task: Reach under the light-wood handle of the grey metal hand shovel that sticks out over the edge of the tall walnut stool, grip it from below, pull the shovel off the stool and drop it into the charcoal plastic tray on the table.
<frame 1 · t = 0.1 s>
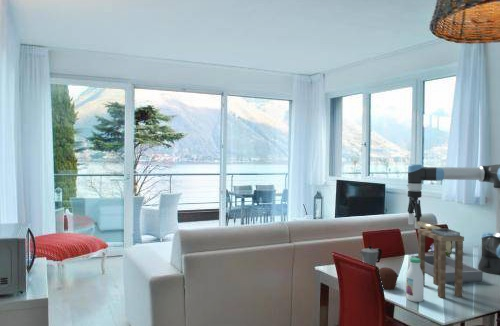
hand: (414, 226, 228), 28 cm above the table, tool pointing down, fingers open, 13 cm apart
hand shovel: (438, 232, 201), point 30 cm above the table, touching stool
stool: (438, 290, 200), on the table
passion flower: (438, 256, 269), on the table
coffeepot: (371, 276, 224), on the table
tray: (444, 273, 229), on the table
milk bottle: (414, 299, 188), on the table
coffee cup: (445, 251, 281), on the table
muffin: (386, 287, 205), on the table
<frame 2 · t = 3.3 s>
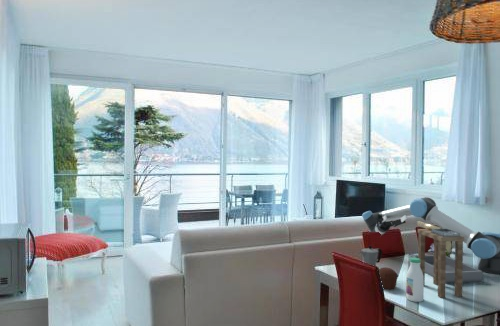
hand: (396, 217, 249), 30 cm above the table, tool pointing upward, fingers open, 13 cm apart
nothing on the table moved.
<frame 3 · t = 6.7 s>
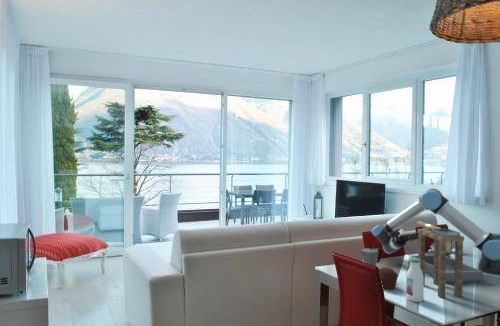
hand: (414, 230, 224), 26 cm above the table, tool pointing upward, fingers open, 13 cm apart
nothing on the table moved.
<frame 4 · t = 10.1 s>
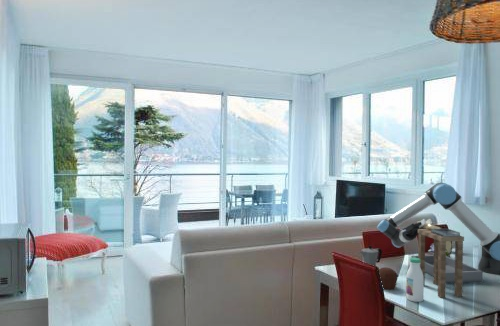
hand: (427, 221, 210), 34 cm above the table, tool pointing upward, fingers closed on hand shovel, 3 cm apart
hand shovel: (438, 232, 201), point 30 cm above the table, touching gripper, stool
everything else where it was.
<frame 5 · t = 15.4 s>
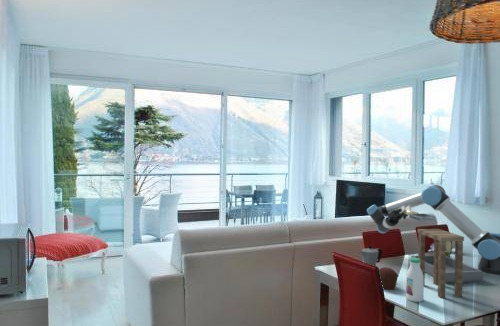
hand: (407, 207, 232), 39 cm above the table, tool pointing upward, fingers closed on hand shovel, 3 cm apart
hand shovel: (415, 217, 222), point 35 cm above the table, touching gripper
everything else where it was.
when the fingers open (26 cm above the table, at t = 21.0 s): hand shovel drops 20 cm, resting on tray.
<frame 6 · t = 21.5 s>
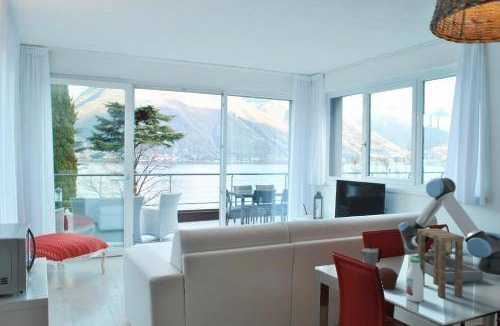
hand: (437, 229, 236), 25 cm above the table, tool pointing upward, fingers open, 10 cm apart
hand shovel: (447, 272, 227), point 1 cm above the table, touching tray
everything else where it was.
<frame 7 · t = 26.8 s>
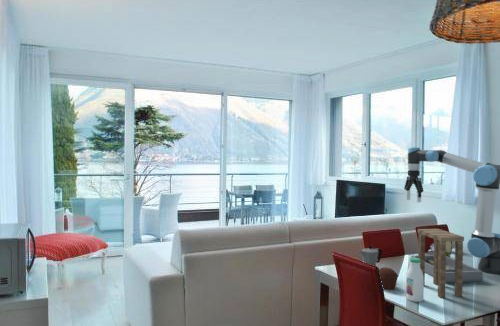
hand: (413, 201, 263), 39 cm above the table, tool pointing down, fingers open, 13 cm apart
nothing on the table moved.
at the end: hand shovel inside the target area on the tray (2.8 cm from its centre), point 1.2 cm above the tray's base; the gripper is holding nothing; hand shovel touching tray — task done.
